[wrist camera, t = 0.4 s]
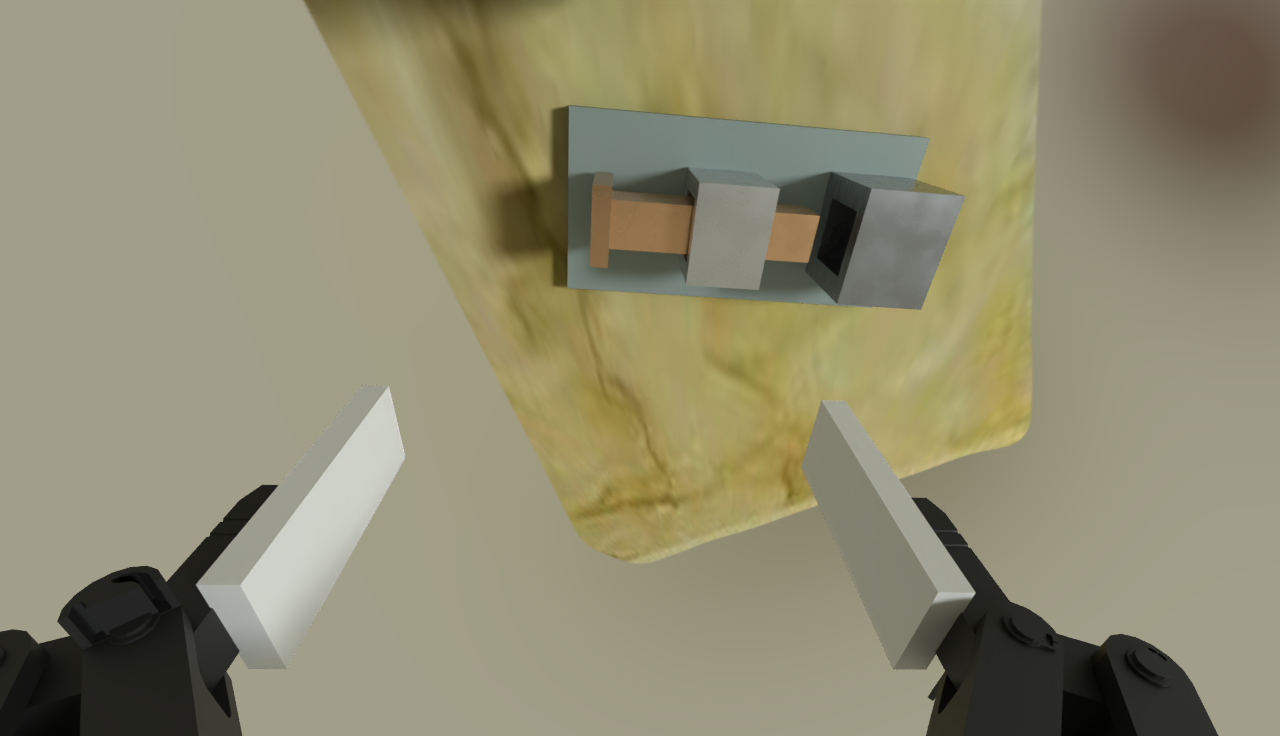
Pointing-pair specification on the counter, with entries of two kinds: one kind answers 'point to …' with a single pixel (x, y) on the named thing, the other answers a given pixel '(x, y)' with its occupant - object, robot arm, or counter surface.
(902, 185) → the socket
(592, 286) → the board
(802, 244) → the bolt
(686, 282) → the sleeve
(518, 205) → the counter surface
